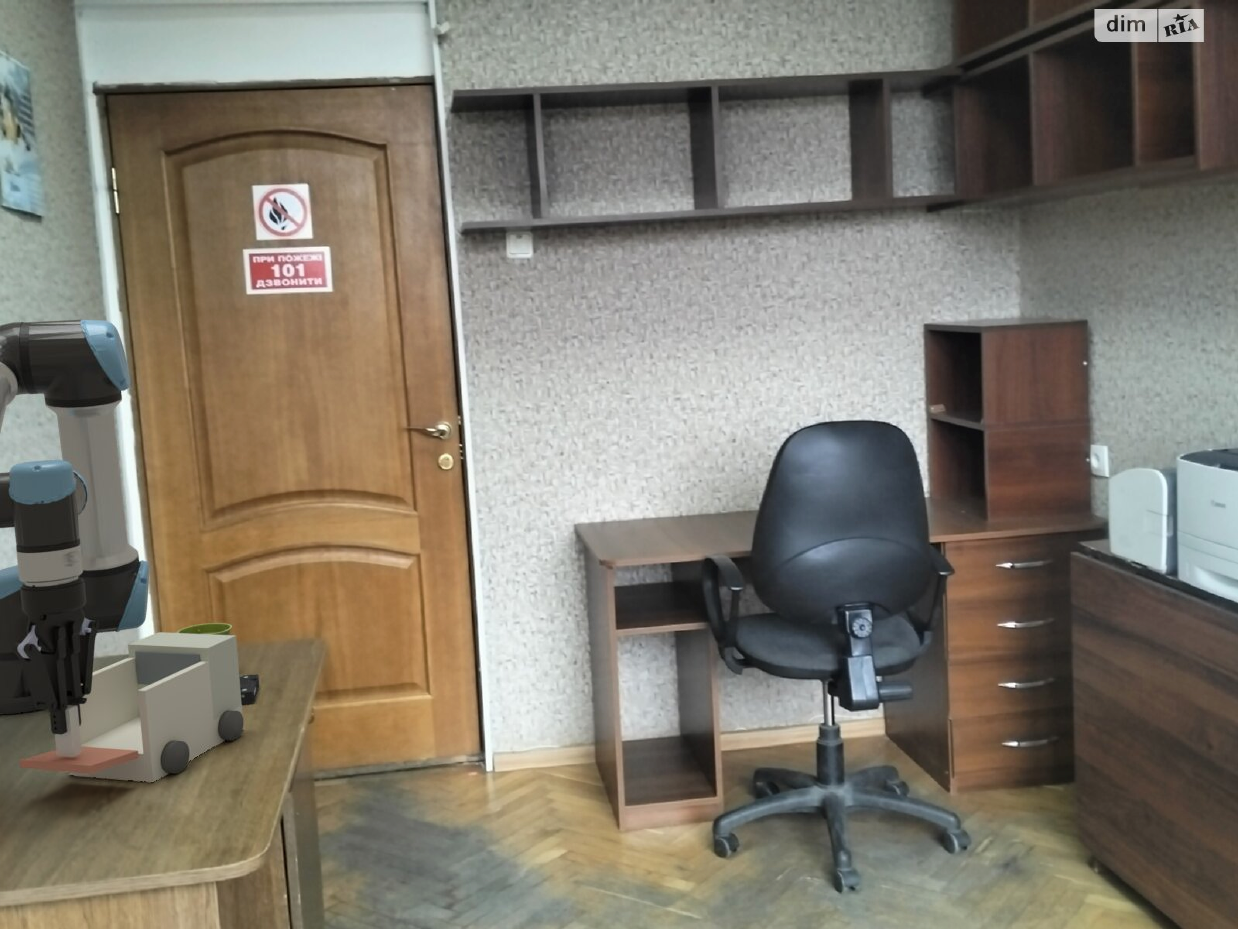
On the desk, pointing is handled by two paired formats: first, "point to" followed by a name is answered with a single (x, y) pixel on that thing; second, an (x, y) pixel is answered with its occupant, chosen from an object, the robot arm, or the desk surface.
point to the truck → (164, 704)
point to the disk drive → (248, 688)
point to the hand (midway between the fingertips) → (69, 754)
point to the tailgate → (80, 760)
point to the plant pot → (208, 629)
